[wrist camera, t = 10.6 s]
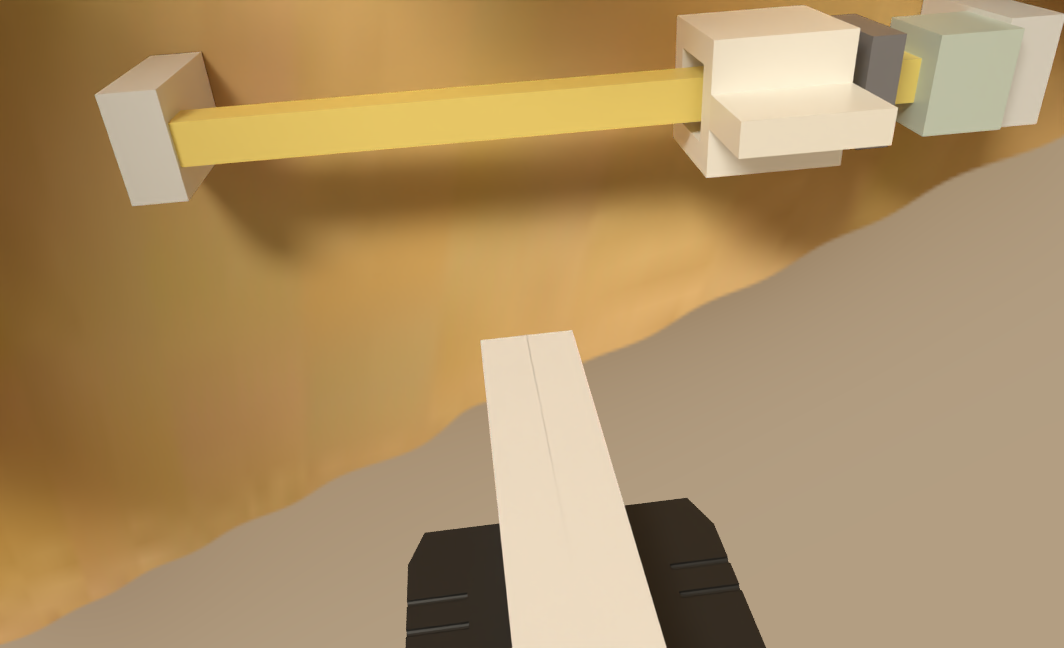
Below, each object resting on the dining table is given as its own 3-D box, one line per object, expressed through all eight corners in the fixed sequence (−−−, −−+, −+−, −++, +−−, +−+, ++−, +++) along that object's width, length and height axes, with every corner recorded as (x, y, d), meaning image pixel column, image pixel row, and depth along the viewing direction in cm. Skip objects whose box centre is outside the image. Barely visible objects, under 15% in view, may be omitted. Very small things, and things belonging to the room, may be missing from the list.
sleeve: (673, 137, 33) (734, 212, 26) (677, 15, 31) (745, 61, 24) (790, 127, 33) (882, 197, 26) (804, 4, 31) (908, 48, 24)
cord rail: (178, 152, 34) (122, 216, 28) (150, 55, 32) (82, 102, 26) (950, 85, 36) (1053, 131, 30) (970, -11, 34) (1085, 18, 28)
